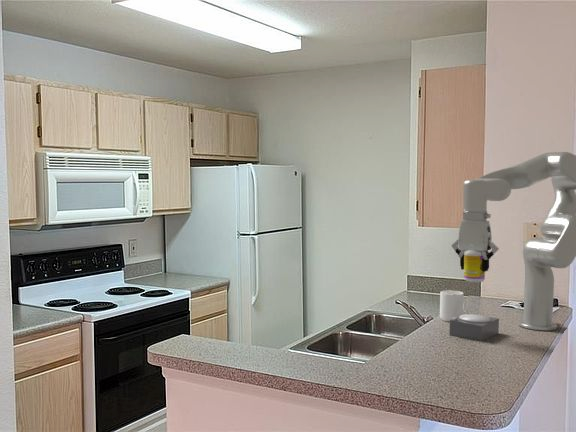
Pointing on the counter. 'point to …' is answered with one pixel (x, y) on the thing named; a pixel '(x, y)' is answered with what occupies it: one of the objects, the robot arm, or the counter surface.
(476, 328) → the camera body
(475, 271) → the supplement bottle
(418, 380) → the counter surface
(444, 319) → the mug
